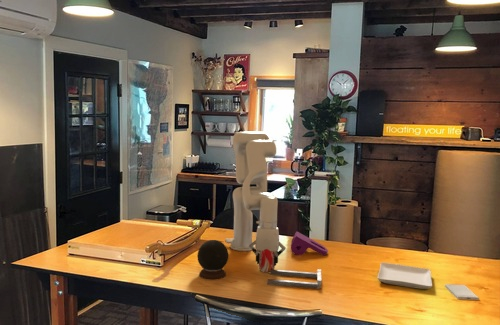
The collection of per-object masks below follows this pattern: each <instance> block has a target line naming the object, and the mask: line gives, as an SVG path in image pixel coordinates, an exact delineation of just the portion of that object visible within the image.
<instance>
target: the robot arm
mask: <svg viewBox="0 0 500 325" xmlns="http://www.w3.org/2000/svg"><path fill="white" fill-rule="evenodd" d="M232 147H233V151H234V155H235V180H236V182H237V184H240V185H242V186H240V187H236V188H235V189H234V190H233V192H232V200H233V238H232V237H231V238H225V239H224V241H225V243H226V244H230V249H231V250H233V251H238V252H249V251H252V253H254V255H255V262H256V264H257V265H259V252H260V251H263V250H265V249H268V250H270V251H272V252H274V253H275V257H274V265H275V267H276V266H277V264H279V256H281V254H283V252H284V251H286V247H287V246H285V245H284V244H283V243H281V241H280V233H279V231H280V230H279V227H277V226H278V204H279V203H278V197H276V196H274V194H273V193H271V192H268V174H267V173H268V165H267V160H266V159H268V158H269V159H271V158H274V157H275V156H276V155H277V145H276V143H275V140H273V138H272V137H271V136H270V135H269V134H268V133H267V132H264V131H238V132H236V133H235V134H234V135H233V137H232ZM251 185H256V186H251ZM255 210H257V211H258V210H259V220H256V221H255V223H256V225H258V226H257V227H256V228H257V229H256V235H255V240H254V241H253V216H254V215H253V214H254V213H253V212H252V211H255ZM279 248H281V249H279Z"/></svg>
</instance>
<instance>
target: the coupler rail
mask: <svg viewBox="0 0 500 325" xmlns="http://www.w3.org/2000/svg"><path fill="white" fill-rule="evenodd" d="M269 274H270V275H272V276H273V275H274V276H282V277H283V276H284V277H297V278H309V279H316V282H309V281H308V282H307V281H297V280H285V279H274V278H273V279H272V278H267V280H266V281H267V285H268V286H269V285H270V286H279V287H280V286H281V287H282V286H283V287H290V288H291V287H293V288H303V289H304V288H305V289H315V290H322V269H319V268H317V269H316V272H310V271H309V272H308V271H307V272H306V271H296V270H283V269H274V270H273V269H271V270H270V272H269Z"/></svg>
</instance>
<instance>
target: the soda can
mask: <svg viewBox="0 0 500 325" xmlns="http://www.w3.org/2000/svg"><path fill="white" fill-rule="evenodd" d="M274 257H275V253H274V252H272V251H270V250H268V249H265V250H263V251H260V252H259V264H258V270H260V271H261V272H262V273H269V274H270V270H271V269H273V270H275V267H276V266H275V265H274Z"/></svg>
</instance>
